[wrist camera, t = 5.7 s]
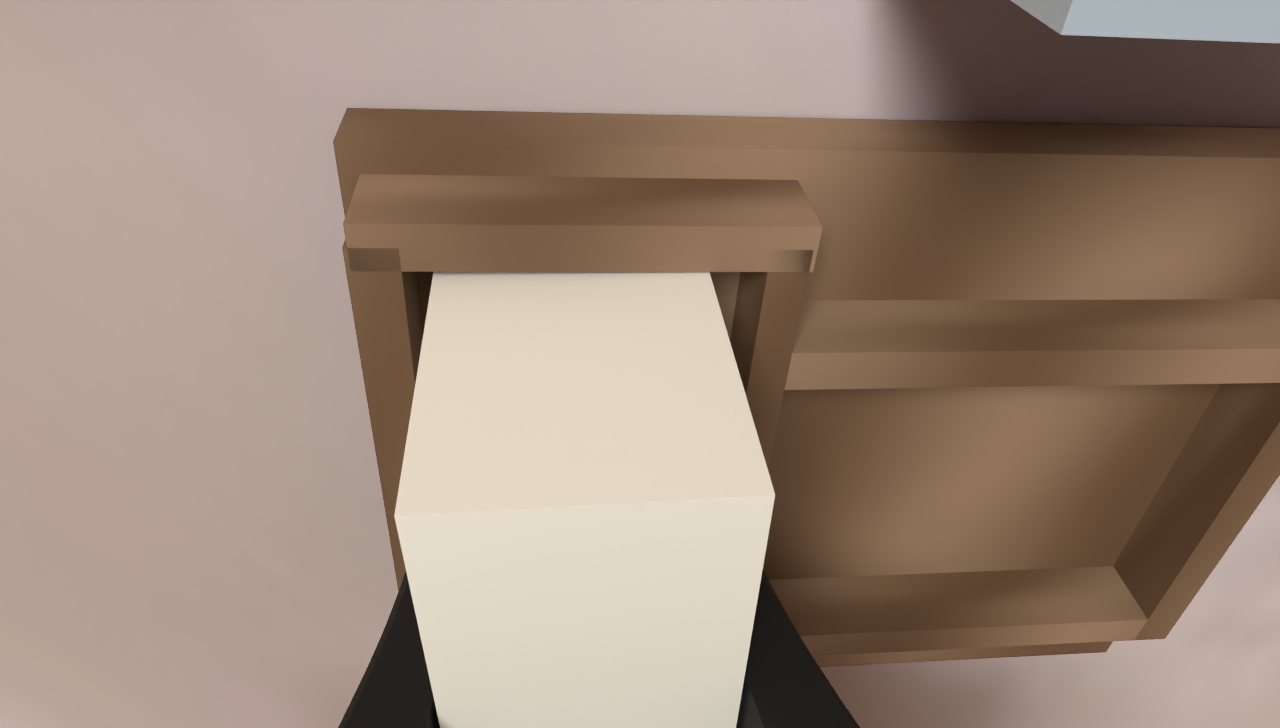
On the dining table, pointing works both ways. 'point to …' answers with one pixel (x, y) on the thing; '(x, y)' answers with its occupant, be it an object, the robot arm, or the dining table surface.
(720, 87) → the dining table surface
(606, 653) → the cream rectangular block
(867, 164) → the jig
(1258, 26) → the blue box with knob
